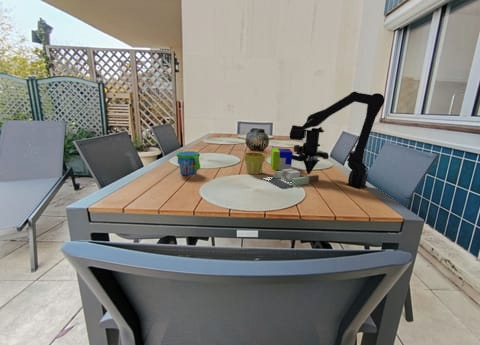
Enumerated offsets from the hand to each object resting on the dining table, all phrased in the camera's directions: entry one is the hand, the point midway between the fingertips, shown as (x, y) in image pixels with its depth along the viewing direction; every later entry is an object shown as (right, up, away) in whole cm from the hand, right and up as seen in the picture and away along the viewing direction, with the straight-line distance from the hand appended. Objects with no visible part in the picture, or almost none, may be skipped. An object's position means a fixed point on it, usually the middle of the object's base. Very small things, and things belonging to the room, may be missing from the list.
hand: (308, 173), depth 119 cm
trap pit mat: (-17, -4, -8) cm, 19 cm away
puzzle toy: (-10, +3, +19) cm, 22 cm away
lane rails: (-7, -3, -3) cm, 8 cm away
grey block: (-10, -3, -5) cm, 11 cm away
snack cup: (-58, 0, +1) cm, 58 cm away
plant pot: (-26, 0, +7) cm, 27 cm away
